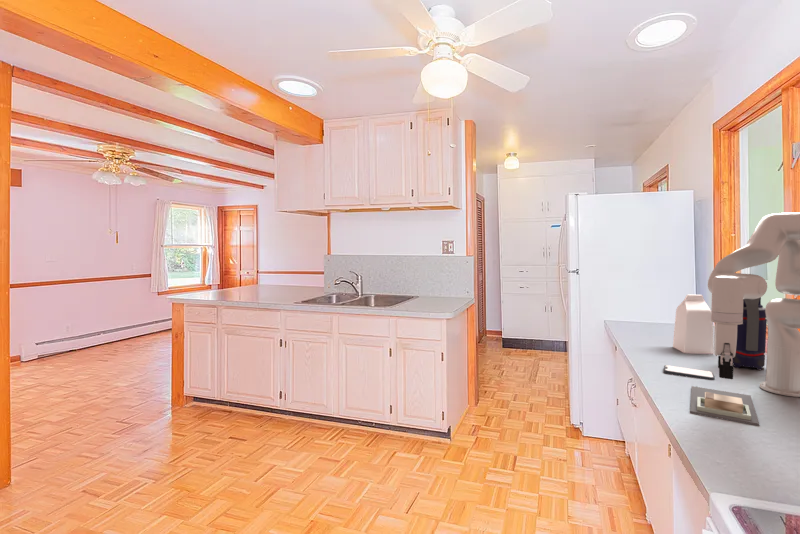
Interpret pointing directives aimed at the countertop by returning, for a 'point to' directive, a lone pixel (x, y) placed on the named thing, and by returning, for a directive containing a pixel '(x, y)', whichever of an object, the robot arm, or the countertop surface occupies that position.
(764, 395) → the countertop surface
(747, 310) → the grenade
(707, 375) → the smartphone
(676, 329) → the milk
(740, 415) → the tray
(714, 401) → the block
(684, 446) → the countertop surface
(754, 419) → the mat
